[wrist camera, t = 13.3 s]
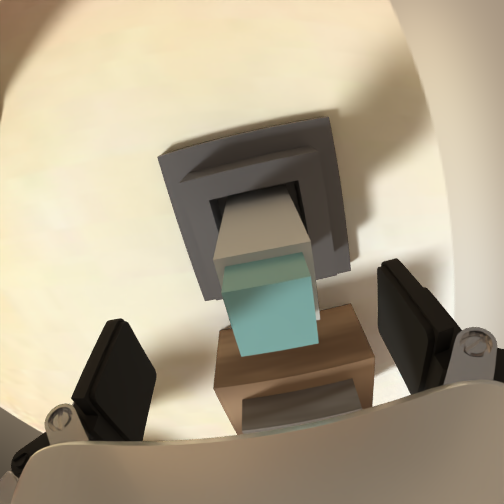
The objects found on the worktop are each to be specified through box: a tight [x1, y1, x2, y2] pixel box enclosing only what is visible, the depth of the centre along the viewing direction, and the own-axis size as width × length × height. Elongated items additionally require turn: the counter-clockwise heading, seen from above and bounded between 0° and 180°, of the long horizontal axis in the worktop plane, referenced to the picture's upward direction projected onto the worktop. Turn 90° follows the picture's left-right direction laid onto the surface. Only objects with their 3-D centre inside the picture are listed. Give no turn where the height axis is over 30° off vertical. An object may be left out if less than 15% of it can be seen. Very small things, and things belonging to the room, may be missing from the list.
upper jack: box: [213, 304, 375, 435], centre depth 26 cm, size 12×12×10 cm
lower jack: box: [158, 117, 351, 301], centre depth 22 cm, size 12×12×4 cm
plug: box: [213, 184, 320, 357], centre depth 17 cm, size 4×4×12 cm
